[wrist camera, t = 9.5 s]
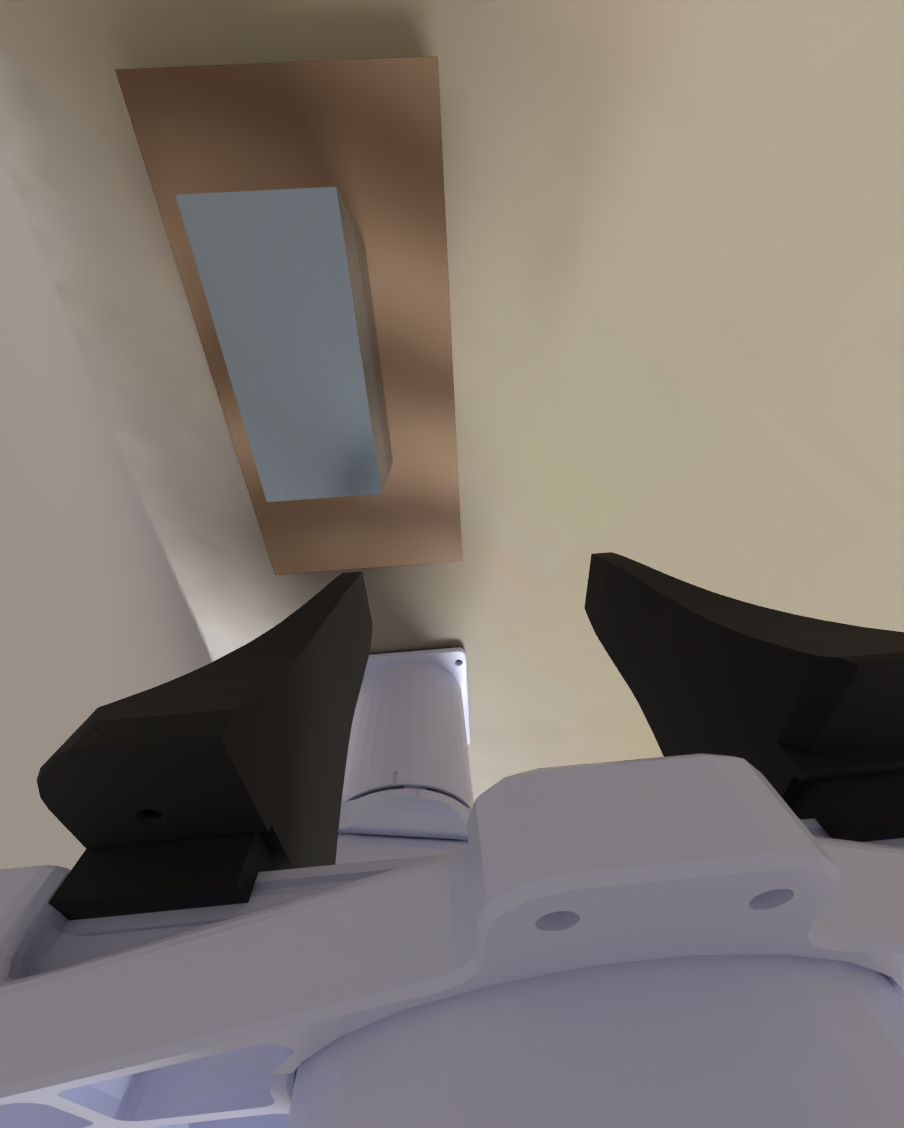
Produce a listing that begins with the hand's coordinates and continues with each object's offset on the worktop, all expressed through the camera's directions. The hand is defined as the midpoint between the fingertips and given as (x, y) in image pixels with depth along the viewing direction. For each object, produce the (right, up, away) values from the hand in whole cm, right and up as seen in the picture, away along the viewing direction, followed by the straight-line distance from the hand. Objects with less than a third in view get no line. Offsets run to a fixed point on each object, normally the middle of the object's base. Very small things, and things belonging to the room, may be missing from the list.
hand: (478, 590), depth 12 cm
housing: (-6, +9, +4) cm, 11 cm away
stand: (-6, +9, +5) cm, 12 cm away
